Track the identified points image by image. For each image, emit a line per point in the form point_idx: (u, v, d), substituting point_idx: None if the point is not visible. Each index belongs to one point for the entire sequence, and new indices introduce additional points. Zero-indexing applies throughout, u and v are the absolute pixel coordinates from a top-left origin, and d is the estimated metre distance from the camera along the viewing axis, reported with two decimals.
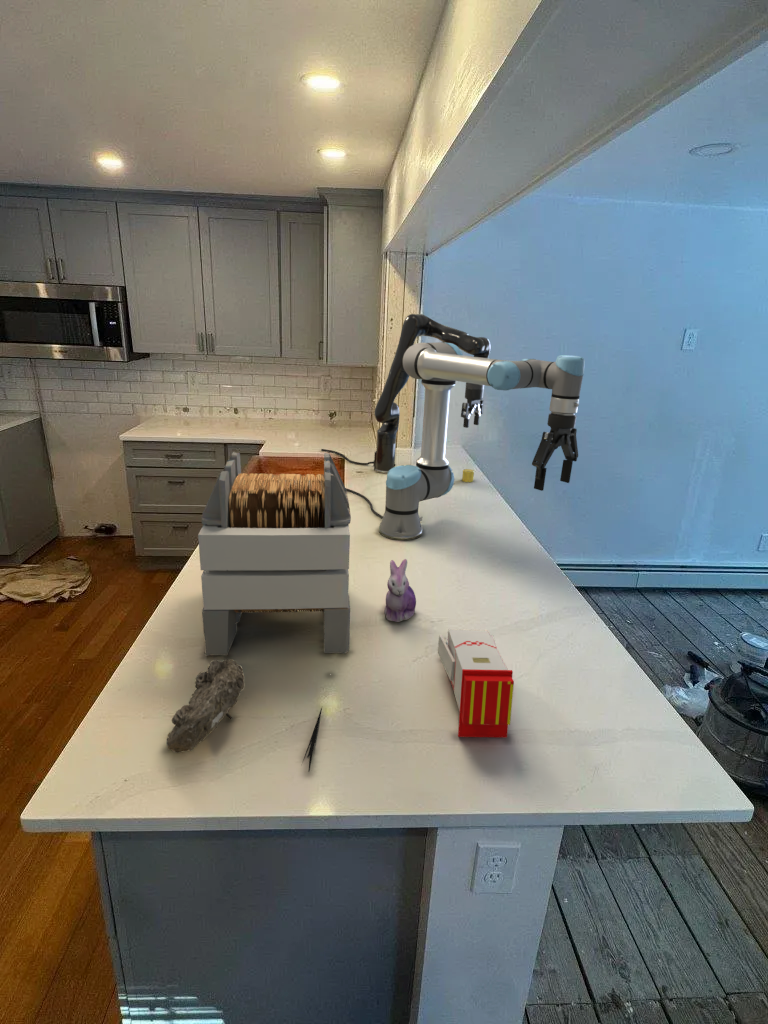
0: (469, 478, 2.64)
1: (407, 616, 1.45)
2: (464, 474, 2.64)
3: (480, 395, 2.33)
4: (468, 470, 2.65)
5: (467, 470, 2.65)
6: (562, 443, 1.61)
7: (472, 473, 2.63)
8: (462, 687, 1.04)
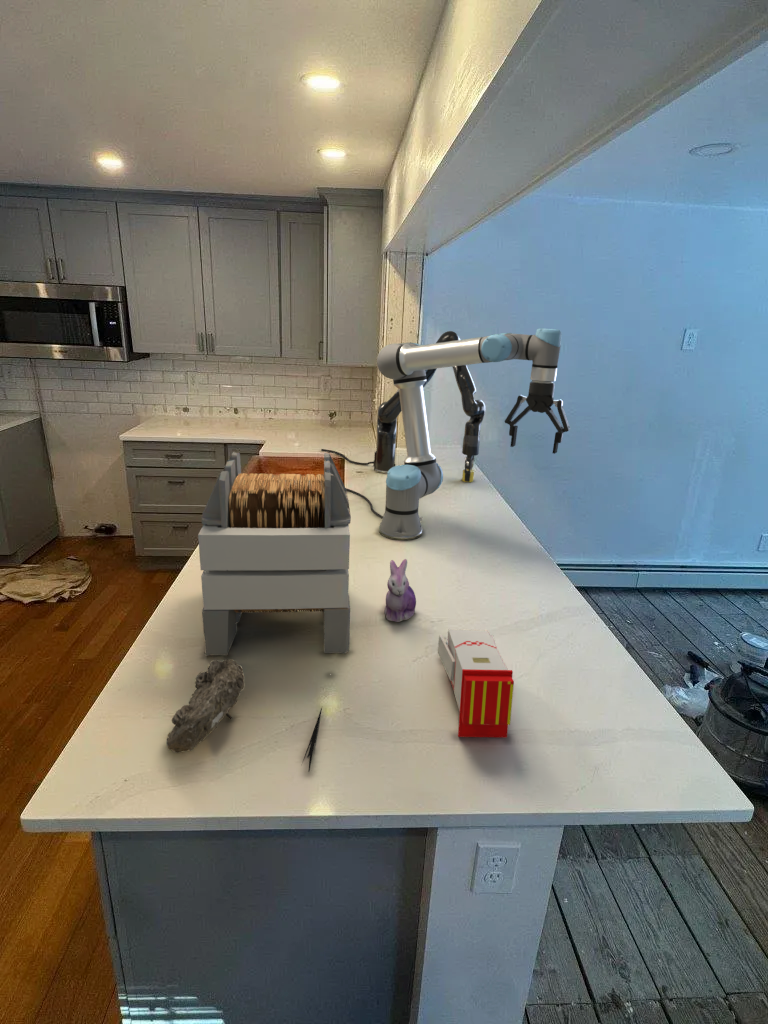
0: None
1: (407, 616, 1.45)
2: (464, 474, 2.64)
3: None
4: (468, 470, 2.65)
5: (467, 470, 2.65)
6: None
7: (472, 473, 2.63)
8: (462, 687, 1.04)
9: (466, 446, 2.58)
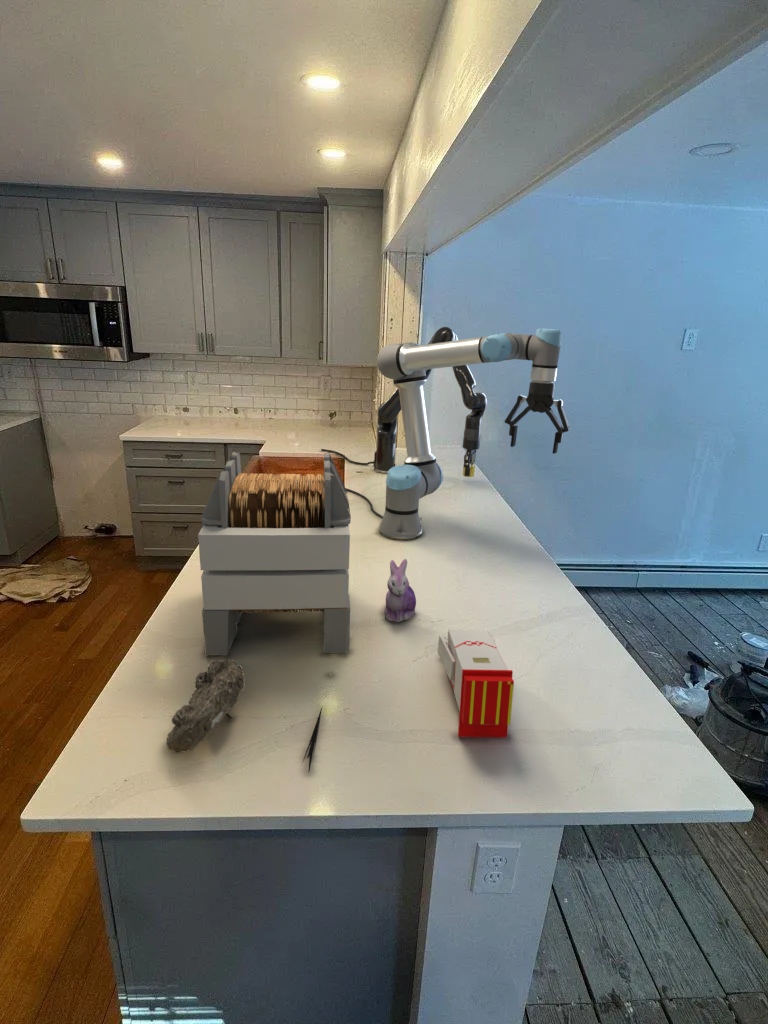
0: (470, 473, 2.57)
1: (407, 616, 1.45)
2: (464, 469, 2.58)
3: None
4: None
5: None
6: None
7: (472, 468, 2.57)
8: (462, 687, 1.04)
9: (466, 440, 2.52)
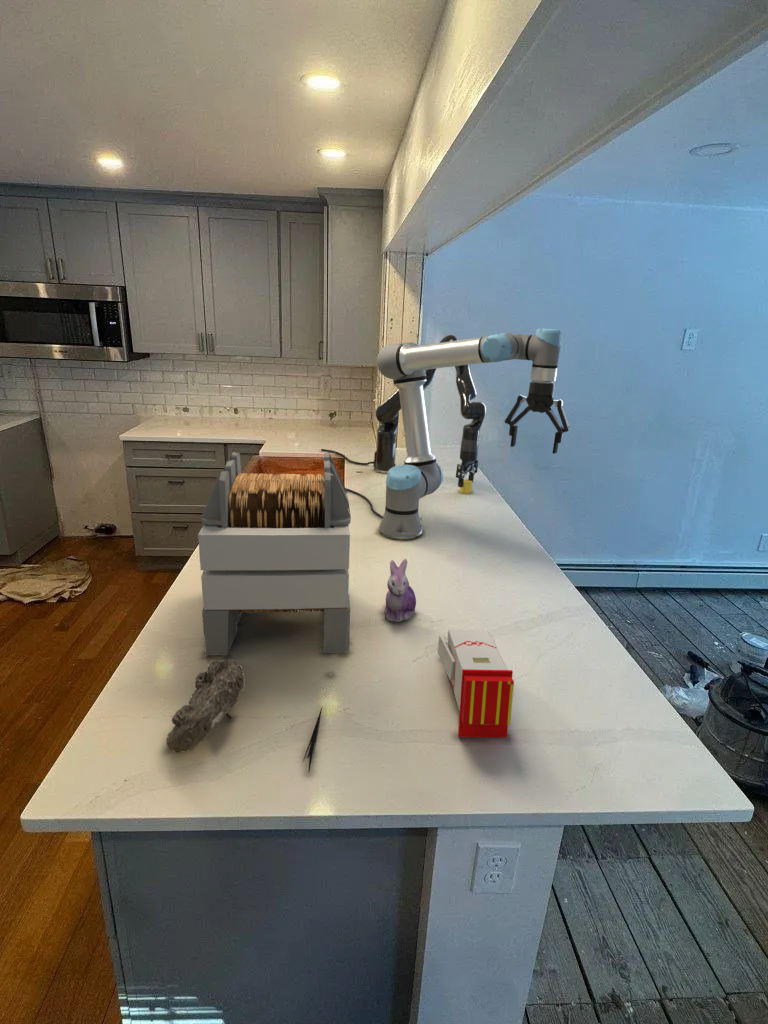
0: (465, 490, 2.47)
1: (407, 616, 1.45)
2: None
3: None
4: (466, 481, 2.48)
5: (465, 481, 2.48)
6: None
7: (468, 484, 2.46)
8: (462, 687, 1.04)
9: (461, 450, 2.42)
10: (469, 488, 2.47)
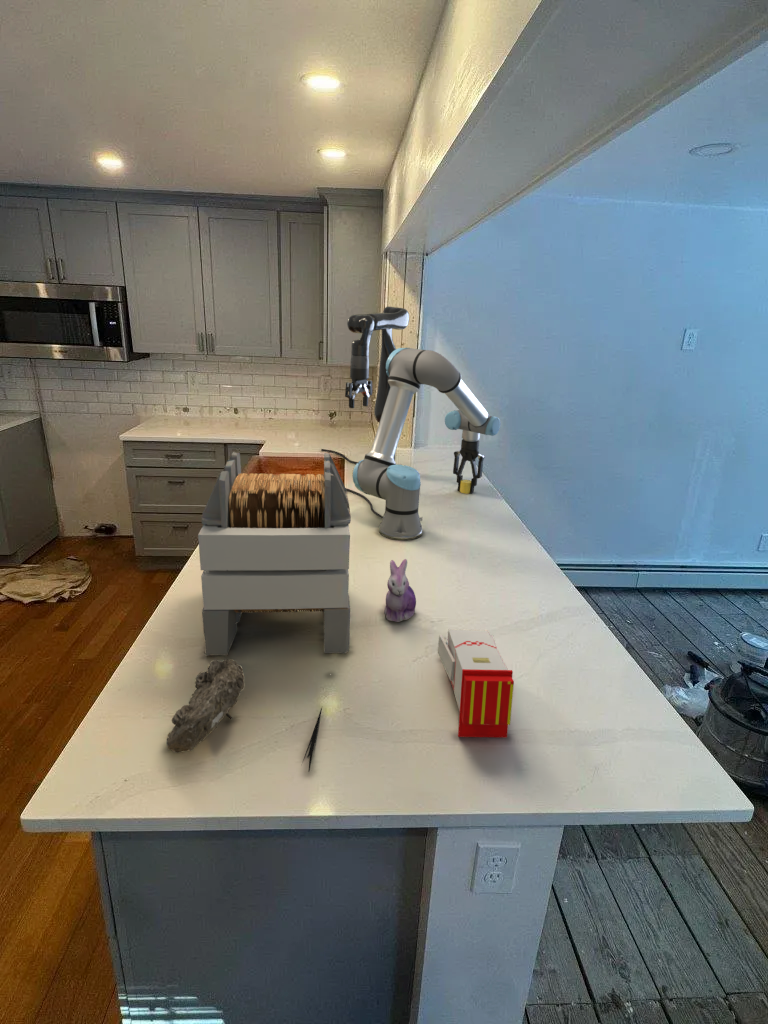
0: (465, 490, 2.47)
1: (407, 616, 1.45)
2: (460, 484, 2.48)
3: None
4: (466, 481, 2.48)
5: (465, 481, 2.48)
6: None
7: (468, 484, 2.46)
8: (462, 687, 1.04)
9: (351, 368, 2.28)
10: (469, 488, 2.47)
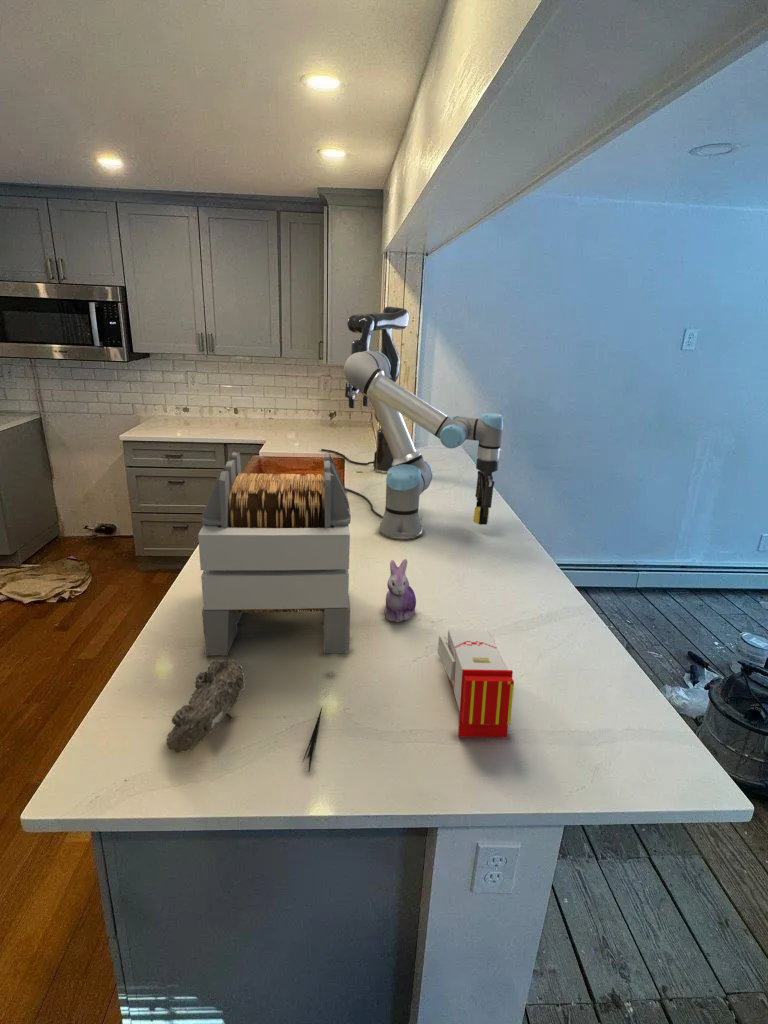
0: (475, 518, 2.03)
1: (407, 616, 1.45)
2: None
3: None
4: None
5: None
6: None
7: (478, 512, 2.01)
8: (462, 687, 1.04)
9: None
10: (479, 517, 2.02)
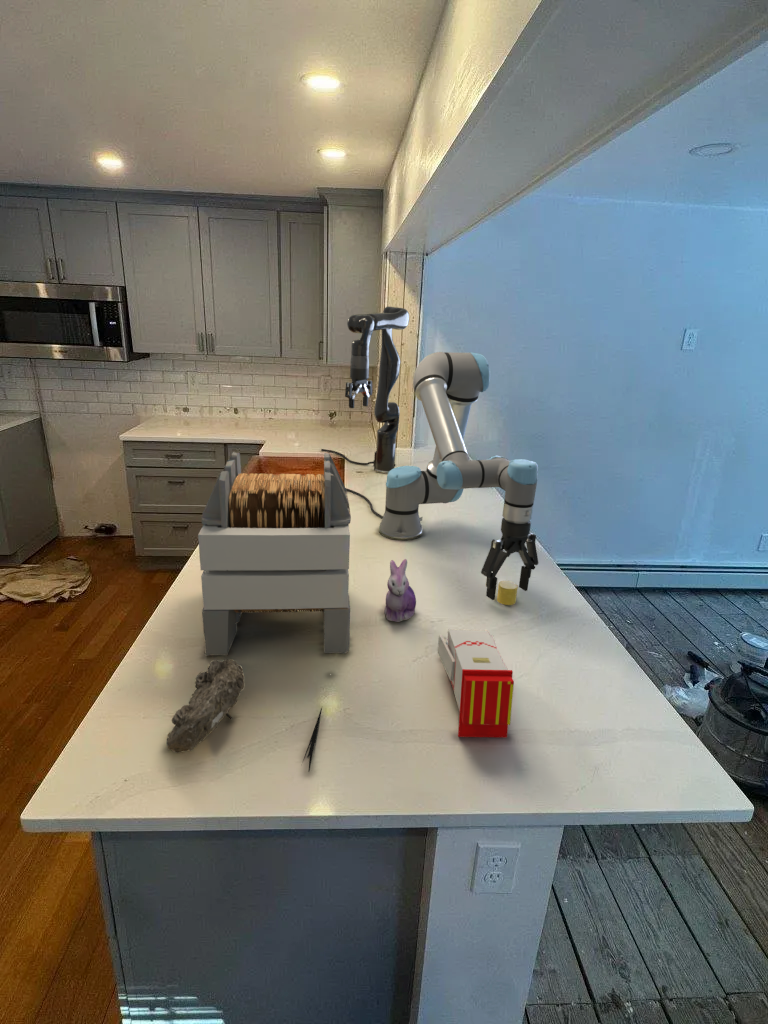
0: None
1: (407, 616, 1.45)
2: None
3: None
4: (508, 584, 1.55)
5: (509, 584, 1.56)
6: (516, 550, 1.51)
7: (498, 586, 1.56)
8: (462, 687, 1.04)
9: (351, 368, 2.28)
10: None
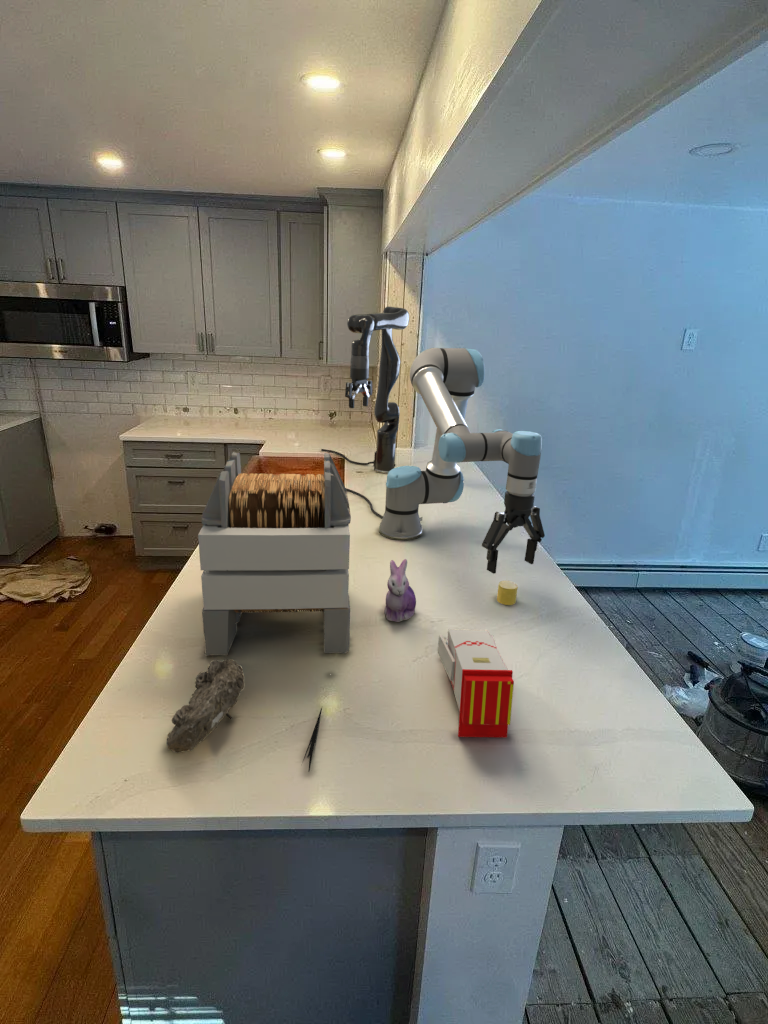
0: None
1: (407, 616, 1.45)
2: None
3: None
4: (508, 584, 1.55)
5: (509, 584, 1.56)
6: (520, 524, 1.48)
7: (498, 586, 1.56)
8: (462, 687, 1.04)
9: (351, 368, 2.28)
10: None
